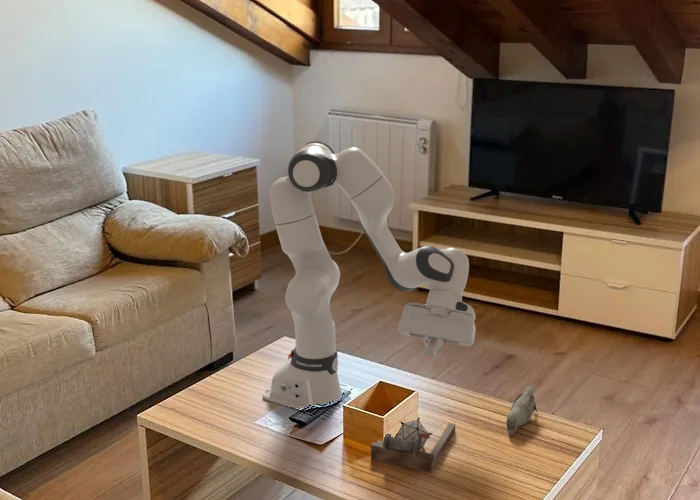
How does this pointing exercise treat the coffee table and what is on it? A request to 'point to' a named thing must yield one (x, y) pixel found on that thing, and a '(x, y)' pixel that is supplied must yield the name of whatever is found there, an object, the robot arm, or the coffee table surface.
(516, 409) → the decorative bird
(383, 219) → the robot arm
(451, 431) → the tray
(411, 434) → the game die
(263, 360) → the coffee table surface
